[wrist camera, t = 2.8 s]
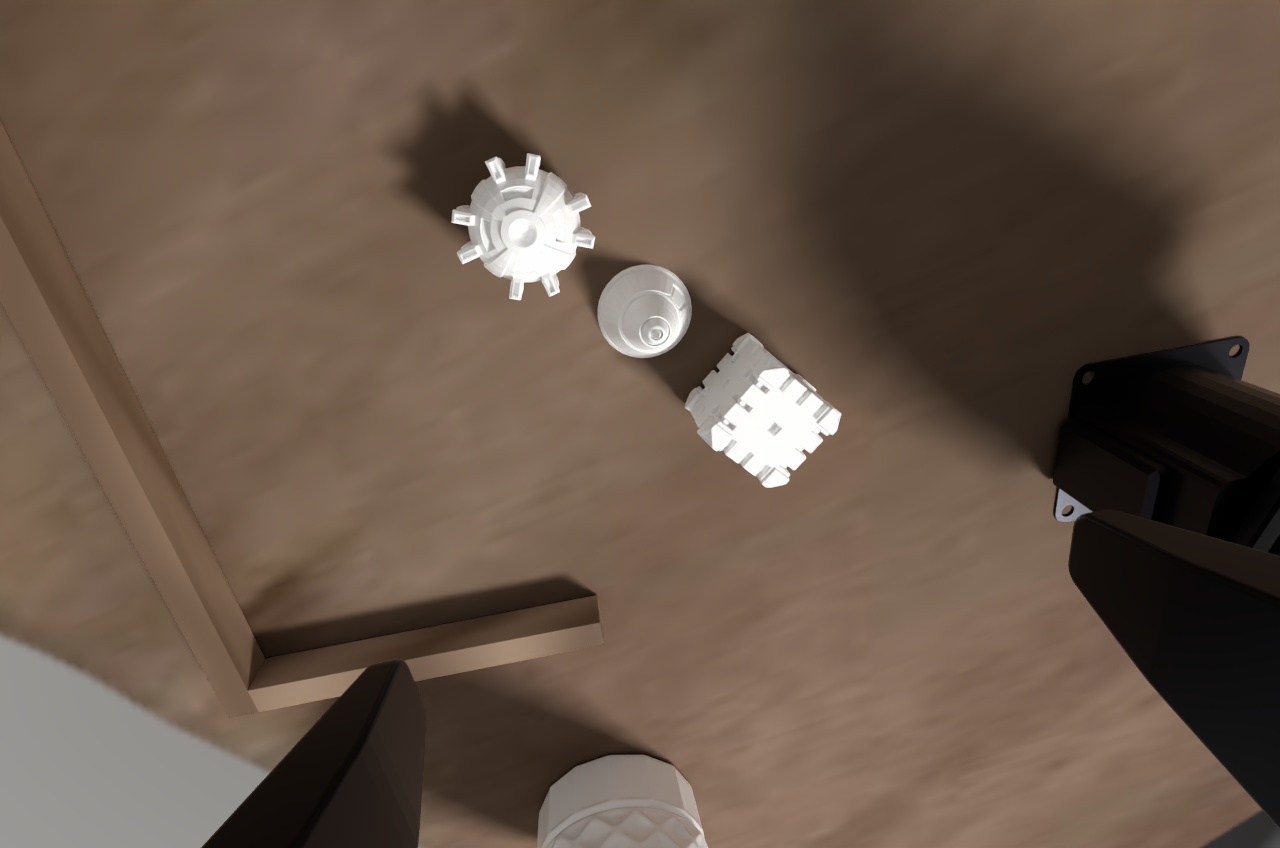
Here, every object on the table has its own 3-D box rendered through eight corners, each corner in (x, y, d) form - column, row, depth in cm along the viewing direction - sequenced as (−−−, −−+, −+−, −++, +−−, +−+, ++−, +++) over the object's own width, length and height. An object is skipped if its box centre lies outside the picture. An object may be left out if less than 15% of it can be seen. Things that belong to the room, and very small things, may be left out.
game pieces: (810, 379, 22) (850, 416, 19) (744, 451, 23) (772, 497, 20) (512, 129, 18) (505, 128, 15) (444, 227, 19) (425, 244, 16)
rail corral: (440, -166, 15) (429, -196, 14) (601, 616, 25) (604, 644, 23) (-156, -92, 14) (-229, -116, 13) (247, 684, 24) (228, 717, 23)
